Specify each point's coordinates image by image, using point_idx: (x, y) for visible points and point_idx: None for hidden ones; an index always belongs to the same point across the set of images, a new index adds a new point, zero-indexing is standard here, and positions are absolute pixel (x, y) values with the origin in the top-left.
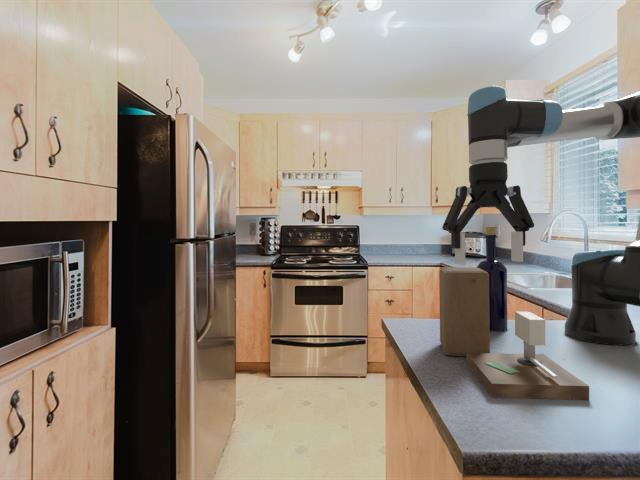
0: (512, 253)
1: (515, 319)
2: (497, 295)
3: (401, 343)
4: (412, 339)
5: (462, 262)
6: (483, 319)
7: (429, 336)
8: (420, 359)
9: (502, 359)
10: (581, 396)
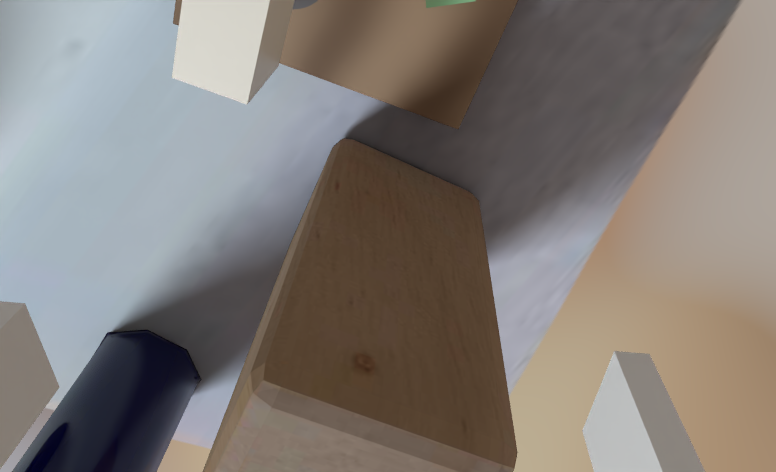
0: (11, 434)
1: (260, 83)
2: (80, 444)
3: (536, 332)
4: None
5: (653, 368)
6: (343, 212)
7: None
8: (580, 196)
9: (374, 22)
10: None
